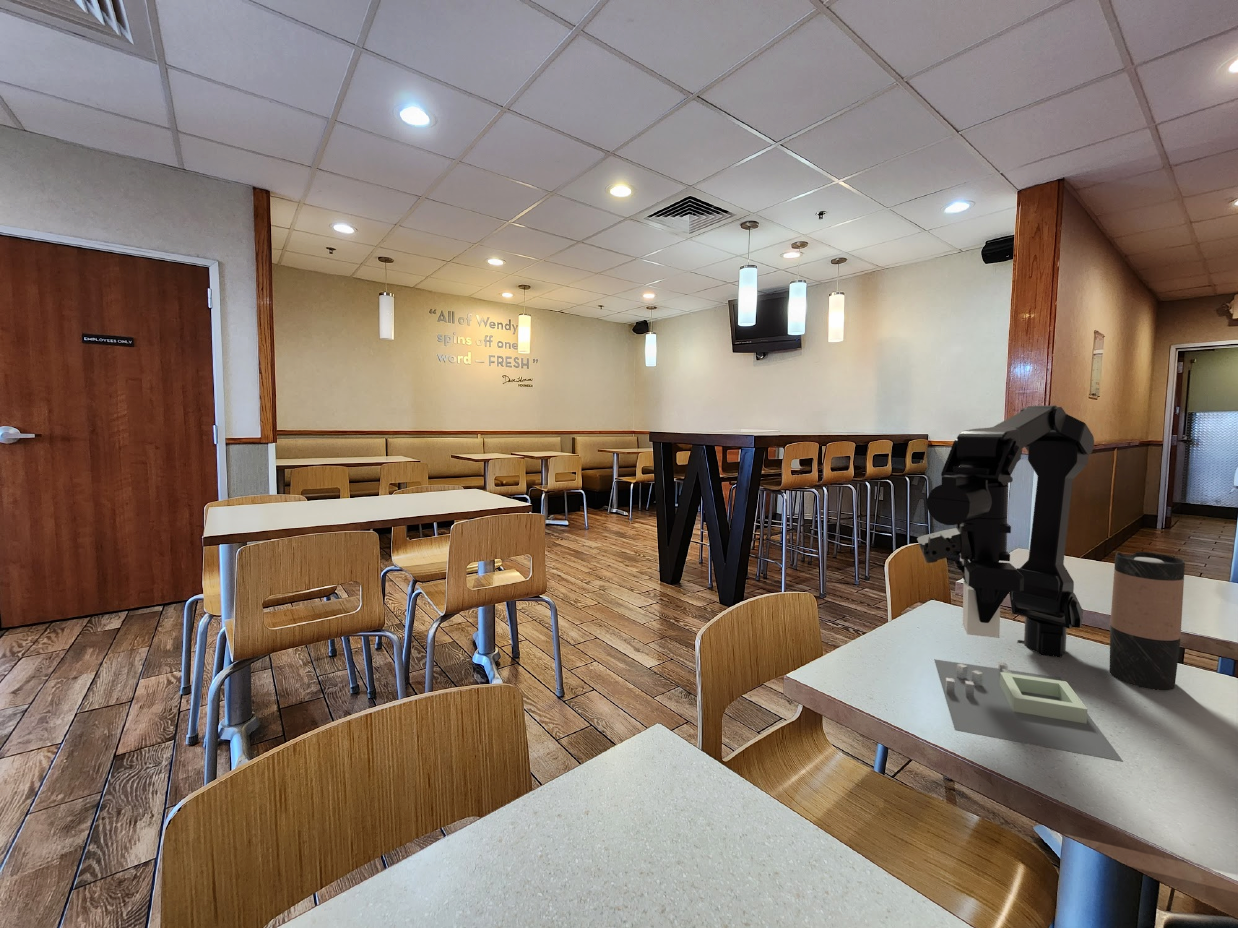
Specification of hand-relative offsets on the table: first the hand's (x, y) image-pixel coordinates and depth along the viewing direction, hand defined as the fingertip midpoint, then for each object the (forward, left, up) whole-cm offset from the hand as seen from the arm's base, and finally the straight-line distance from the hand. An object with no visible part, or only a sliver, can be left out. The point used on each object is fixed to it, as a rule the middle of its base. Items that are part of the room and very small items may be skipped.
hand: (981, 616), depth 81 cm
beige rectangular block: (0, 0, -2) cm, 2 cm away
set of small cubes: (0, 0, -11) cm, 10 cm away
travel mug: (-11, +23, -12) cm, 28 cm away
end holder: (+3, +7, -11) cm, 13 cm away
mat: (+4, +3, -12) cm, 13 cm away
